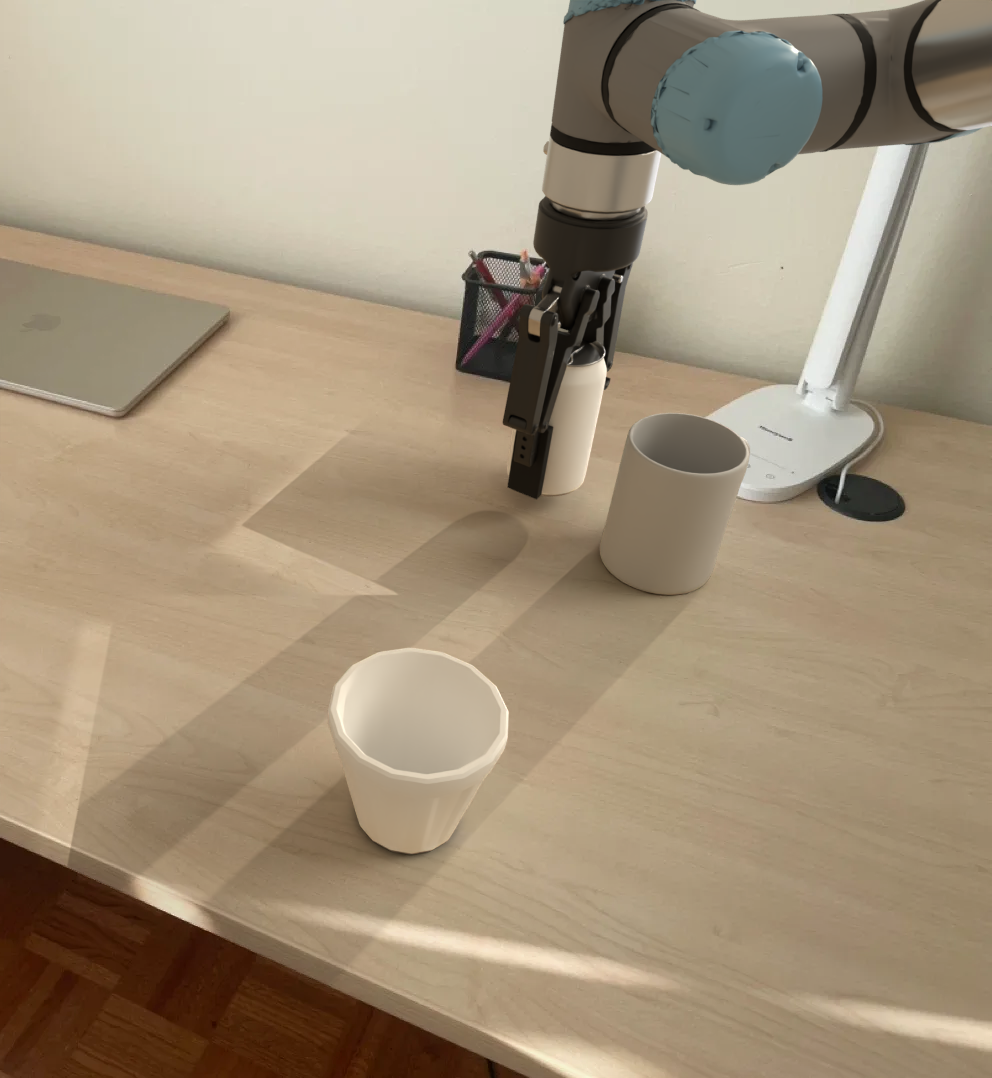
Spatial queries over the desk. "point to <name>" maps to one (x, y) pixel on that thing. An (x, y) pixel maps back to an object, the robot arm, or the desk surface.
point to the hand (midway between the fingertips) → (545, 471)
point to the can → (573, 420)
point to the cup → (415, 743)
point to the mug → (672, 502)
